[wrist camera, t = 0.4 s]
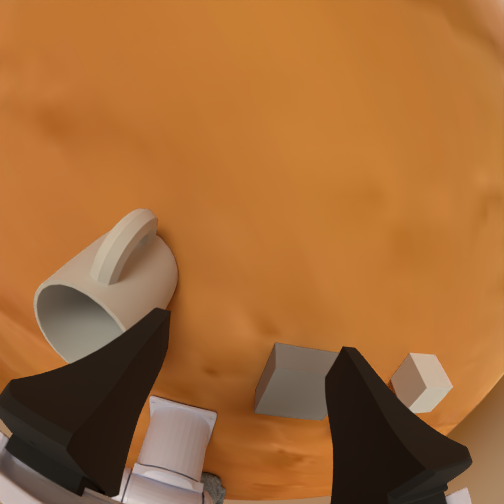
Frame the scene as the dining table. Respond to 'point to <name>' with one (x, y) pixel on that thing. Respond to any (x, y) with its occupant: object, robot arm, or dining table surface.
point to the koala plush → (213, 487)
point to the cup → (106, 287)
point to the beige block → (420, 382)
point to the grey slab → (294, 383)
